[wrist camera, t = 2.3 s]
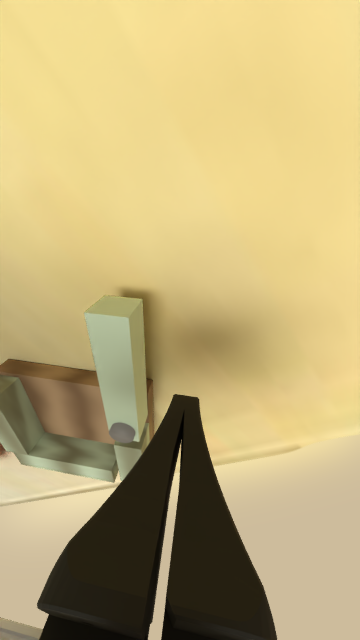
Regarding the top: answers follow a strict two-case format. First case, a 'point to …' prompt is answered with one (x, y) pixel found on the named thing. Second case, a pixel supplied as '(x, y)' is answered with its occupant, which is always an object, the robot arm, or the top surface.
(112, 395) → the hinged leg
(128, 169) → the top surface
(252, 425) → the top surface
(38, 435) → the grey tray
